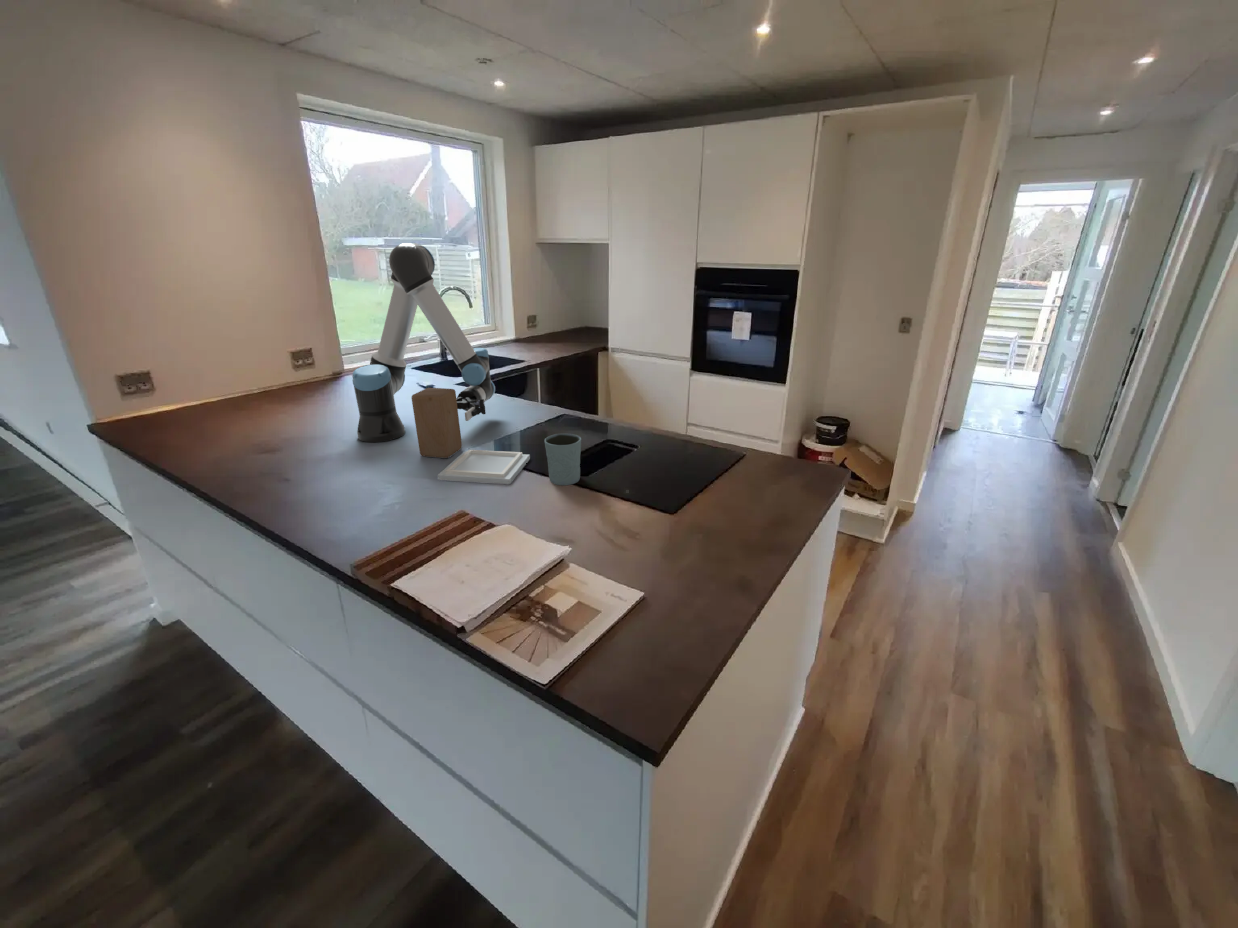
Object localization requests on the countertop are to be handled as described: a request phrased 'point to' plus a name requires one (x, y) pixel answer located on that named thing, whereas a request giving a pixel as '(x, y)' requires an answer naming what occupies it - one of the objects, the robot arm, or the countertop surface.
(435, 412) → the wooden block
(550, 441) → the teal cup
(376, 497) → the countertop surface
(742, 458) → the countertop surface
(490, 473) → the baseplate
